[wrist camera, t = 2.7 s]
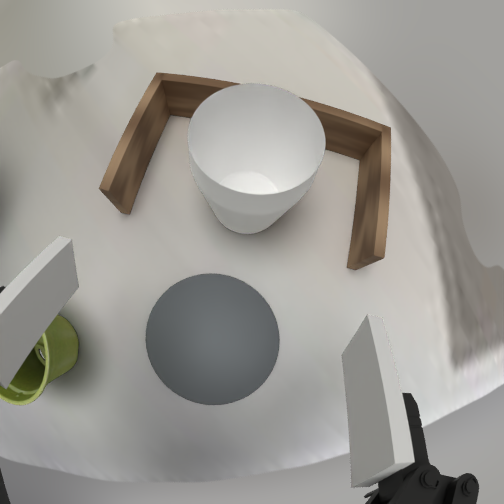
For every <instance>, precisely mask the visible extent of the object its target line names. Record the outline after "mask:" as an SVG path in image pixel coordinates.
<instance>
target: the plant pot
mask: <svg viewBox="0 0 504 504" xmlns="http://www.w3.org/2000/svg"><path fill="white" fill-rule="evenodd" d="M78 346H79V342H78V338H77V334H76V332H75V330H74V328H73V327H72V325H71V324H70V323H69V322H68V321H67V320H66V319H65V318H64V317H62V316H60V315H57V316H56V317H55V318H54V320H53V321H52V322H51V324H50V325H49V326H48V328H47V329H46V330H45V332H44V333H43V335H42V336H41V337H40V339H39V340H38V342H37V343H36V344H35V346H34V347H33V349H32V350H31V352H30V353H29V355H28V356H27V358H26V359H25V361H24V362H23V364H22V365H21V367H20V368H19V370H18V371H17V373H16V374H15V376H14V378H13V379H12V381H11V382H10V384H9V386H8V387H7V389H5V388H3V387H2V386H0V398H1V399H3V400H4V401H6V402H8V403H11V404H14V405H26V404H29V403H31V402H33V401H35V400H36V399H37V398H38V397H39V396H40V395H41V394H42V392H43V391H44V389H45V387H46V385H47V384H48V383H50V382H51V381H53V380H54V379H56V378H57V377H59V376H60V375H62V374H64V373H65V372H67V371H69V370H70V369H71V368H72V367H73V366H74V365H75V363H76V361H77V357H78ZM39 349H40V350H41V352H42V354H43V356H44V358H45V360H44V359H43V358H42V357H41V355H40V353H39Z"/></svg>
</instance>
